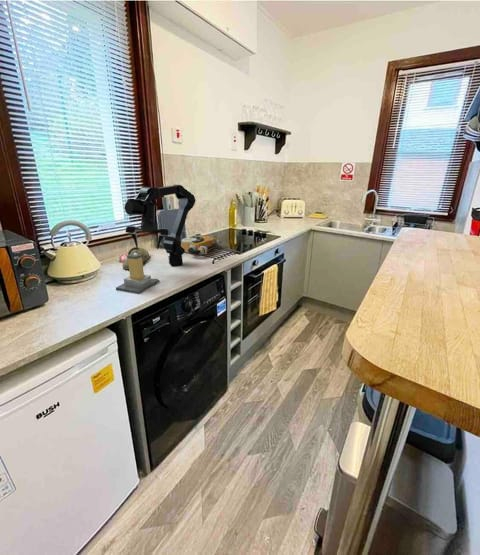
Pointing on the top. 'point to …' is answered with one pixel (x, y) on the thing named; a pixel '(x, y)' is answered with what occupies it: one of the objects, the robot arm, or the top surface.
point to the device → (199, 244)
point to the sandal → (140, 251)
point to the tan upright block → (135, 266)
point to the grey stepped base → (137, 284)
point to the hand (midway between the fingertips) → (147, 248)
